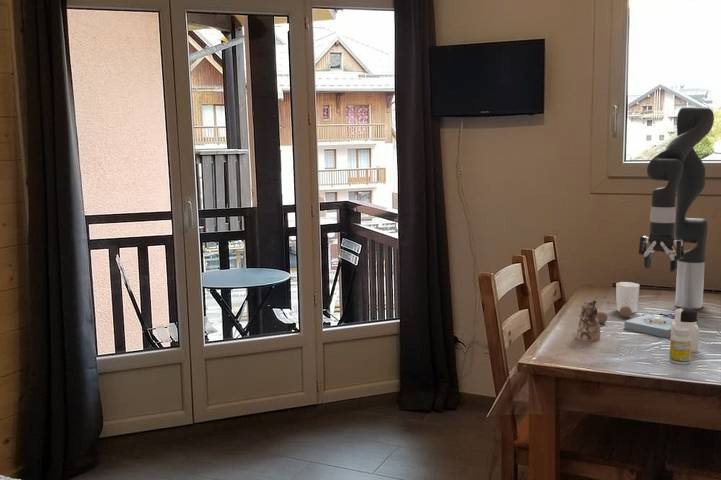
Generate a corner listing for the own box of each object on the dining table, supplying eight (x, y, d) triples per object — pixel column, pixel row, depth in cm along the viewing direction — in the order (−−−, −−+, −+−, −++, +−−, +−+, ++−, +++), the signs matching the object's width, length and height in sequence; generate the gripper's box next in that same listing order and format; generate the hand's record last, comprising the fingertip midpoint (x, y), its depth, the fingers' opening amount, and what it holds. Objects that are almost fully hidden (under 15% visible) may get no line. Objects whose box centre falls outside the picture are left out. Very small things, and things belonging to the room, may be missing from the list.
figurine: (571, 336, 231) (573, 299, 229) (589, 334, 234) (591, 297, 232) (586, 342, 225) (588, 304, 223) (604, 339, 227) (606, 302, 226)
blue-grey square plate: (648, 321, 249) (648, 314, 249) (690, 329, 238) (691, 322, 238) (624, 328, 240) (624, 321, 240) (667, 337, 229) (667, 330, 228)
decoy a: (623, 315, 258) (623, 304, 257) (633, 317, 255) (634, 306, 254) (617, 317, 255) (617, 306, 255) (627, 319, 252) (628, 308, 252)
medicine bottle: (695, 346, 219) (697, 307, 218) (698, 352, 213) (700, 312, 211) (670, 344, 222) (672, 305, 220) (671, 350, 215) (674, 311, 213)
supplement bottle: (686, 366, 200) (688, 332, 199) (666, 362, 204) (668, 329, 202) (692, 361, 204) (694, 328, 203) (672, 358, 208) (674, 325, 206)
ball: (654, 327, 242) (655, 315, 241) (666, 329, 239) (666, 317, 238) (648, 329, 239) (648, 317, 239) (659, 331, 236) (660, 319, 236)
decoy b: (599, 321, 250) (599, 309, 250) (609, 323, 247) (610, 311, 247) (592, 322, 248) (593, 311, 247) (602, 325, 245) (603, 313, 244)
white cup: (639, 313, 260) (641, 286, 259) (616, 313, 261) (618, 285, 260) (636, 308, 268) (637, 282, 266) (613, 308, 269) (614, 281, 268)
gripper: (689, 221, 231) (687, 271, 233) (648, 217, 242) (645, 265, 244) (677, 223, 226) (675, 274, 229) (636, 219, 237) (633, 268, 240)
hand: (660, 269), depth 236 cm, fingers open, 8 cm apart
